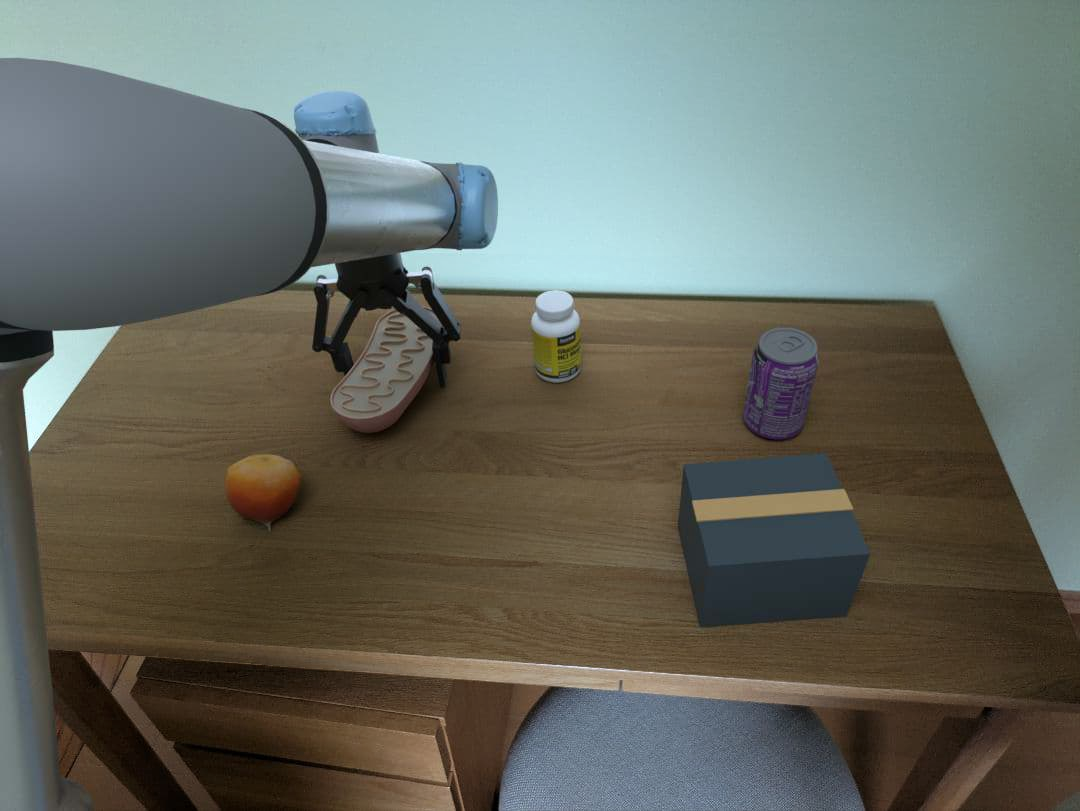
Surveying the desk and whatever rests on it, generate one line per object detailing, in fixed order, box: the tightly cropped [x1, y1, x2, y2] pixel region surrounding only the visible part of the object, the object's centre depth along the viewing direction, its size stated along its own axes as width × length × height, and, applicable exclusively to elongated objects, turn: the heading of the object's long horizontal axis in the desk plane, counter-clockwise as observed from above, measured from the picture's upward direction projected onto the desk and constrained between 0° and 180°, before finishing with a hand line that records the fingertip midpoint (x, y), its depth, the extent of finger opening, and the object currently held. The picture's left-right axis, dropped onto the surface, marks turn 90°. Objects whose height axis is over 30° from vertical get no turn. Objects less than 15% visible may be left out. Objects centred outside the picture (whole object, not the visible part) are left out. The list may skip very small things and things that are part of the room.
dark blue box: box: [677, 452, 871, 628], centre depth 75 cm, size 14×12×10 cm
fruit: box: [224, 453, 302, 533], centre depth 86 cm, size 8×8×8 cm
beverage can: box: [742, 327, 820, 440], centre depth 89 cm, size 7×7×12 cm
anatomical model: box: [330, 305, 440, 434], centre depth 100 cm, size 23×10×5 cm, turn 167°
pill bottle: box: [530, 289, 582, 384], centre depth 99 cm, size 6×6×11 cm
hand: (398, 384), depth 102 cm, fingers closed on anatomical model, 11 cm apart
